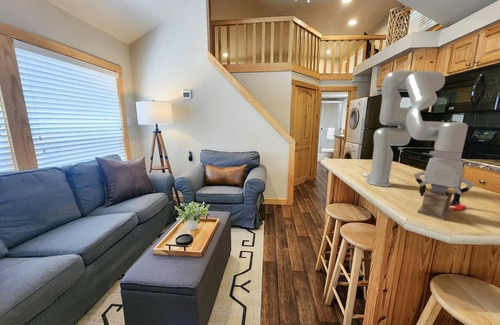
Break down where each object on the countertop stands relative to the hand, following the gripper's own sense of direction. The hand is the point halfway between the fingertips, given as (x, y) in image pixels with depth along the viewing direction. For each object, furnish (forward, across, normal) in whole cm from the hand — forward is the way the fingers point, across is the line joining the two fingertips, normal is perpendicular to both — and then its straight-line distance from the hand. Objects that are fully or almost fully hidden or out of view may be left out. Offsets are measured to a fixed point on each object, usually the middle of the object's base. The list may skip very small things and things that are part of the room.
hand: (437, 199), depth 82 cm
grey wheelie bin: (+4, 0, 0) cm, 4 cm away
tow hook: (+6, +2, +13) cm, 14 cm away
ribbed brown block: (+6, 0, 0) cm, 6 cm away
